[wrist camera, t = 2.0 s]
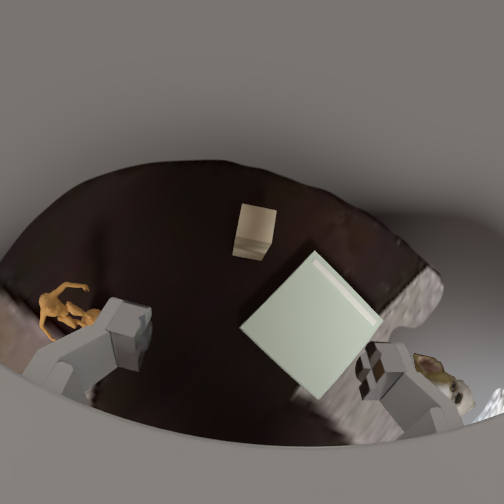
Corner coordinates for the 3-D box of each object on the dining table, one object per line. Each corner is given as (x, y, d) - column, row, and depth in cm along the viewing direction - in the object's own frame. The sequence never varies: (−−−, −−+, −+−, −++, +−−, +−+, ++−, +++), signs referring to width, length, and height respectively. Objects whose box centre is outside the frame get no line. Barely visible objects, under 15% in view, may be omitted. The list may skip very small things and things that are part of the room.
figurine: (97, 356, 33) (52, 363, 21) (67, 329, 33) (18, 324, 22) (127, 309, 35) (90, 298, 24) (96, 283, 36) (53, 263, 24)
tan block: (265, 233, 40) (276, 210, 33) (261, 260, 39) (271, 243, 32) (237, 228, 40) (242, 203, 32) (232, 255, 39) (235, 236, 31)
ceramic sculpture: (469, 437, 26) (409, 422, 27) (438, 429, 34) (379, 411, 36) (492, 375, 29) (438, 348, 31) (460, 374, 38) (405, 349, 39)
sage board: (374, 321, 39) (383, 320, 36) (312, 395, 35) (318, 399, 32) (309, 255, 40) (315, 250, 38) (238, 327, 36) (240, 327, 34)
